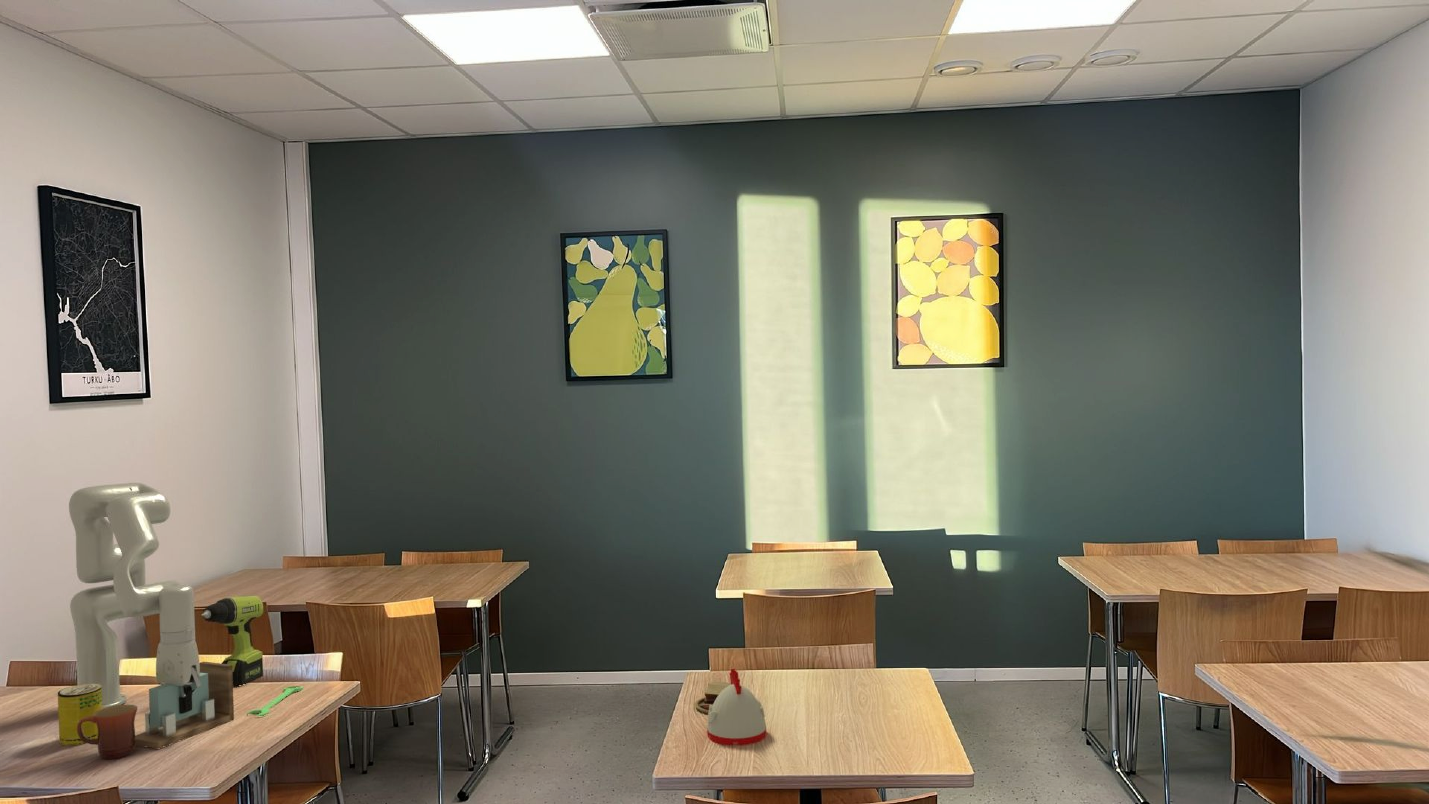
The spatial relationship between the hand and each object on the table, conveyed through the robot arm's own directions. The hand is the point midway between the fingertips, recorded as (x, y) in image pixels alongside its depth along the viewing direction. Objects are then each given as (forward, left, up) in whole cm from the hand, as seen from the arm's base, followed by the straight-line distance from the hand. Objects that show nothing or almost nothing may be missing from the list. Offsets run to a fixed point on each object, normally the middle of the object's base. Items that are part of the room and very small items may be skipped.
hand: (180, 710), depth 240 cm
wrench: (+4, +25, -6) cm, 27 cm away
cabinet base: (0, 0, -5) cm, 5 cm away
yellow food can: (-20, -11, -6) cm, 24 cm away
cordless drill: (-20, +33, -6) cm, 39 cm away
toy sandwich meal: (+118, +59, -6) cm, 133 cm away
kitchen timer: (+130, +42, -6) cm, 137 cm away
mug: (-3, -17, -6) cm, 18 cm away
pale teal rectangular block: (0, 0, -2) cm, 2 cm away
